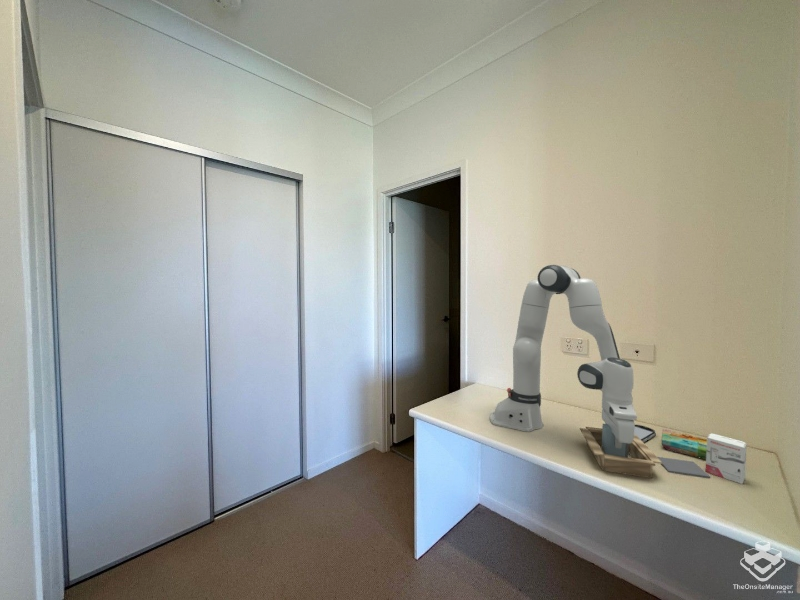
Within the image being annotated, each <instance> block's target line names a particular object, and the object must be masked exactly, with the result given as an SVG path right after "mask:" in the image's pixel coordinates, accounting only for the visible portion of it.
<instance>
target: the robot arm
mask: <svg viewBox="0 0 800 600" xmlns="http://www.w3.org/2000/svg"><path fill="white" fill-rule="evenodd" d="M596 283H597V282H595V281H594V280H593V279H591V278H585V277H583V278H581V275H580V274H579V272H578V271H577V270H575V269H574V268H571V267H568V266H566V265H557V264H549V265H546V266H544V267H542V268H541V269H540V271H539V272H538V273H537V279H533V280H531V281H528V283H527V284H526V286H525V290H524V293H523V295H522V296H523V297H522V298H521V299H522V300H521V305H520V311H519V316H518V322H517V327H516V328H517V329H516V336H515V340H514V343H513V347H512V367H513V368H512V369H513V370H512V371H513V373H512V374H513V377H512V378H513V381H512V388H511V387H507V389H506V392H507V396H508V397H507V398H505V399H503V400H501V401H499V402H498V403H497V404H496V407H495V408H494V411H492V412H491V413H490V414H489V421H490V422H491V424H493V425H494V426H498V427H502V428H508V429H513V430H519V431H523V432H528V433H529V432H532V431H534V430H540V429H542V428H543V426H544V423H543V418H542V413H541V405H542V395H541V360H542V350H541V349H542V343H543V337H544V333H545V329H546V324H547V319H548V313H549V309H550V303H551V299H552V297H553V296H554V295H555V294H556V295H562V294H564V295H565V296H566V297H567V301H568V309H569V315H570V316H569V317H570V321H571V322H572V323H573V325H574V326H575V327H576V328H577V329H579V330H582V331H584V332H586V333H588V334H590V335H591V336H592V337H593V338H594V339H595V341H596V344H597V348H598V351H599V355H600V361H595V362H587V363H583V364H581V365H580V366H579V367H578V369H577V373H576V375H577V380H578V381H579V383H580V384H581V385H582V386H583V387H584V388H586V389H590V390H596V391H597V390H598V391H601V393H602V394H601V420H602V421H603V422H604V424H608V425H609V426H610V428H611V429H612V433H613V434H614V435H615V438H616V439H615V441H614V446H615V447H616V448H619V449H621V448H622V443H628V444H631V443H632V442H633V438H634V429H635V425H636V424H635V421H637V419H638V415H637V413H636V411H635V408H634V403H633V402H634V401H633V400H634V399H633V394H632V392H633V389H634V369H633V366H632V364H631V363H630V362H629V361H627V360H625V359H623V358H621V357H620V354H619V350H618V345H617V343H616V339H615V336H614V332H613V330H612V326H611V324H610V323H609V322H608V320H607V318H606V316H605V314H604V313H605V312H604V309H603V304H602V298H601V294H600V292H599V291H600V290H599V288H598V285H597V284H596Z"/></svg>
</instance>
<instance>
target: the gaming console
mask: <svg viewBox="0 0 800 600" xmlns="http://www.w3.org/2000/svg"><path fill="white" fill-rule="evenodd" d="M634 434H635V435H637V437H638V438H639V439H640V440H641V441H642V442H643V443H644V444H645V442H648V441H649V440H651V439H653V438H654V437H655V436H657V435H656V431H655V430H654V429H653V428H651V427H649V426H648V427H647V426H645V425H641V424H635V429H634ZM647 440H648V441H647Z"/></svg>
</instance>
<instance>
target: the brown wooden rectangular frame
mask: <svg viewBox="0 0 800 600" xmlns="http://www.w3.org/2000/svg"><path fill="white" fill-rule="evenodd" d="M579 431H580V432H581V434H582V435H583V438H584V439H585V441H586V444H587V446H588V447H589V450H590V451H591V453H592V454H593V457H594V458H595V460H596V461H597V464H598V465H599V467H600V466H601V467H600V468H601V471H603V470H605V471H604V472H610V471H611V473H616V472H617V474H623V473H626V474H625V475H629V474H630V476H635V477H636V476H637V477H638V476H639V477H643V478H650V479H652V477H653V467H656V464H660V465H661V464H662V462H661V461H660V460H659V459H658V458H657V457H658V456H657V455H655V454H654V452H653V451H652V450H651V449H650V448H649V447H648V446H647V445H646V444H645V442H644V443H643V442H642V441H641V440H640V439H639V438H638V437H637V435H635V434H634V438H633V442H632V443H631V444H629V455H630V456H631V457H628V458H627V457H620V456H613V455H606V454H604V452H603V451H602V428H599V427H592V426H585V428H584V427H580V428H579Z"/></svg>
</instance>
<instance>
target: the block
mask: <svg viewBox="0 0 800 600" xmlns="http://www.w3.org/2000/svg"><path fill="white" fill-rule="evenodd" d="M615 439H616V438H615V435H614V434H613V433H612V429H611V428H610V426H609V425H608V424H605V423H602V446H601V449H602V451H603V452H604V454H606V455H613V456H620V457H627V458H629V455H630V453H629V444H628V443H622V448H621V449H619V448H616V447H615V446H614V441H615Z"/></svg>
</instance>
